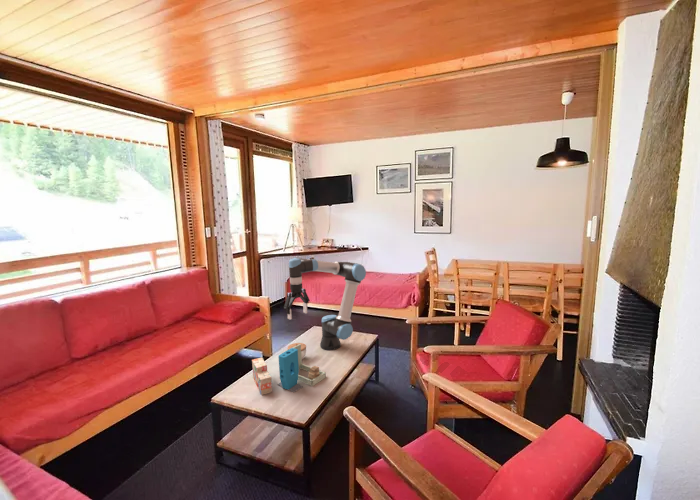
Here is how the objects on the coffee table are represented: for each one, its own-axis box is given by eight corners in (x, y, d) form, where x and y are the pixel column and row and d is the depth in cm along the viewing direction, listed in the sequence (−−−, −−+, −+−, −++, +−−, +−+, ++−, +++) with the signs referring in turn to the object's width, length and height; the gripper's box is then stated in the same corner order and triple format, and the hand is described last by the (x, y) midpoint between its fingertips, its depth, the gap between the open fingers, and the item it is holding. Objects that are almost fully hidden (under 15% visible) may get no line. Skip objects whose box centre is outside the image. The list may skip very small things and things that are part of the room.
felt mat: (286, 379, 194) (286, 379, 194) (302, 386, 186) (302, 386, 186) (277, 384, 189) (277, 384, 189) (294, 392, 180) (293, 391, 180)
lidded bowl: (284, 359, 221) (283, 343, 220) (300, 353, 229) (299, 338, 228) (294, 365, 212) (293, 349, 210) (310, 359, 220) (309, 343, 218)
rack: (300, 367, 209) (299, 344, 207) (325, 377, 196) (324, 352, 194) (286, 375, 199) (285, 350, 197) (312, 386, 186) (310, 360, 184)
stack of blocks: (272, 392, 181) (270, 371, 180) (261, 395, 179) (259, 374, 177) (263, 375, 200) (262, 356, 199) (253, 378, 197) (251, 359, 196)
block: (286, 391, 181) (284, 357, 178) (279, 389, 183) (277, 355, 181) (300, 381, 191) (298, 349, 189) (293, 379, 194) (291, 347, 191)
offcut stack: (315, 376, 197) (314, 364, 196) (320, 378, 194) (320, 366, 193) (308, 380, 192) (307, 369, 191) (313, 383, 189) (313, 371, 188)
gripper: (305, 278, 214) (307, 309, 216) (276, 286, 194) (278, 320, 197) (314, 280, 209) (315, 311, 212) (284, 288, 190) (286, 322, 192)
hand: (297, 315), depth 204 cm, fingers open, 13 cm apart
